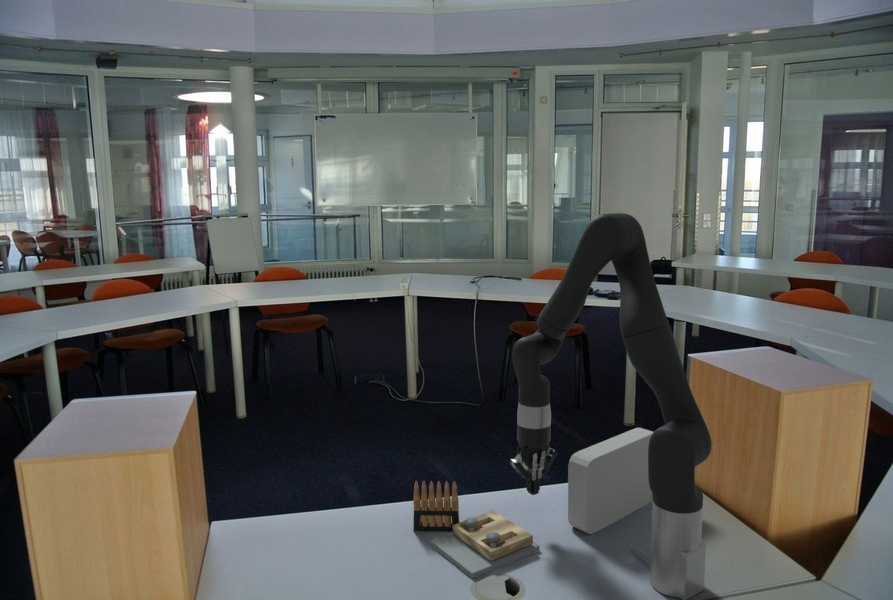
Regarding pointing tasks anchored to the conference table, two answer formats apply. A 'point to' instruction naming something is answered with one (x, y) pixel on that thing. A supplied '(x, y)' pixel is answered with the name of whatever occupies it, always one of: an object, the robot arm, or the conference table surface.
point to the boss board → (476, 552)
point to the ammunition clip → (435, 508)
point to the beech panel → (496, 523)
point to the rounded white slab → (609, 481)
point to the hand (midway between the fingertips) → (533, 493)
